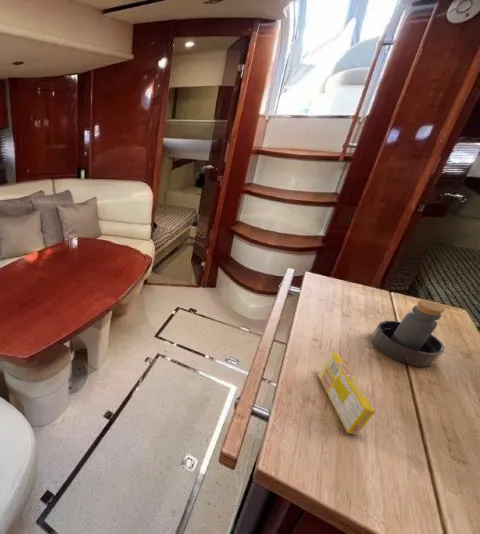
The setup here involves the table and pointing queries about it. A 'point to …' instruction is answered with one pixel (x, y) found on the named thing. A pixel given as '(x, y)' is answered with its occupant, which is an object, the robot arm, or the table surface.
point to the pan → (401, 353)
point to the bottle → (418, 325)
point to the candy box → (345, 394)
